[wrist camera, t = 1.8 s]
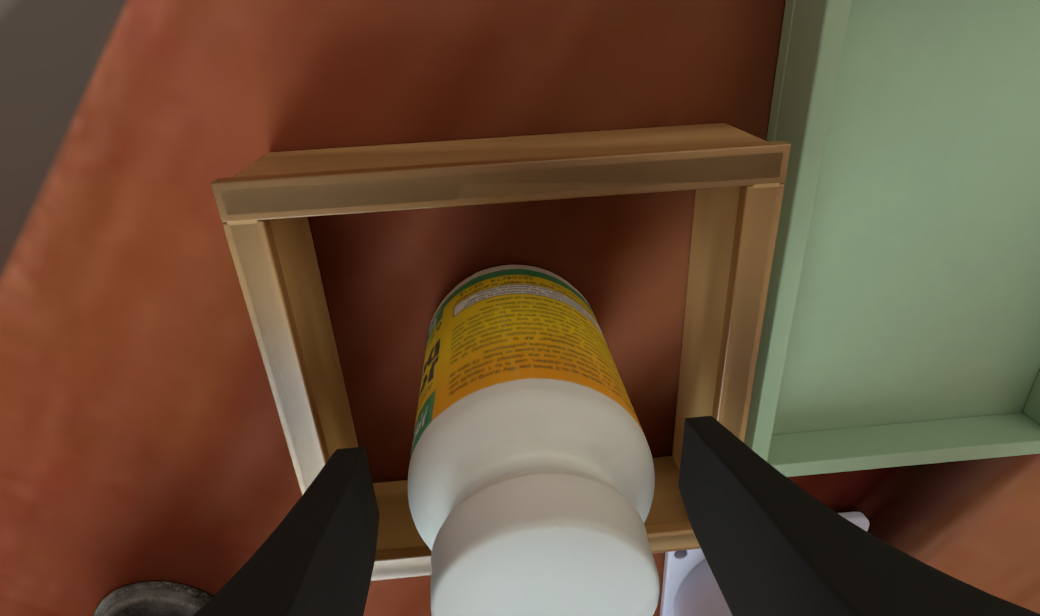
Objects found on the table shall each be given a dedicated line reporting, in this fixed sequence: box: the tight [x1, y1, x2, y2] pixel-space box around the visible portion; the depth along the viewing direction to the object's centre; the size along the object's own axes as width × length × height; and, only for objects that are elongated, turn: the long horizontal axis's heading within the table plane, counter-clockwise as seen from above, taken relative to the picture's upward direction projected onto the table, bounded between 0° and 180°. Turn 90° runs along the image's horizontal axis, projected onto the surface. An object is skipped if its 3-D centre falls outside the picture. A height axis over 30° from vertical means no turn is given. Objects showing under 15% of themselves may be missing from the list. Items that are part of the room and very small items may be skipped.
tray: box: [744, 0, 1040, 477], centre depth 17 cm, size 16×11×2 cm
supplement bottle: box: [407, 264, 660, 616], centre depth 14 cm, size 5×5×10 cm
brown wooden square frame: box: [211, 123, 791, 581], centre depth 17 cm, size 13×13×4 cm
